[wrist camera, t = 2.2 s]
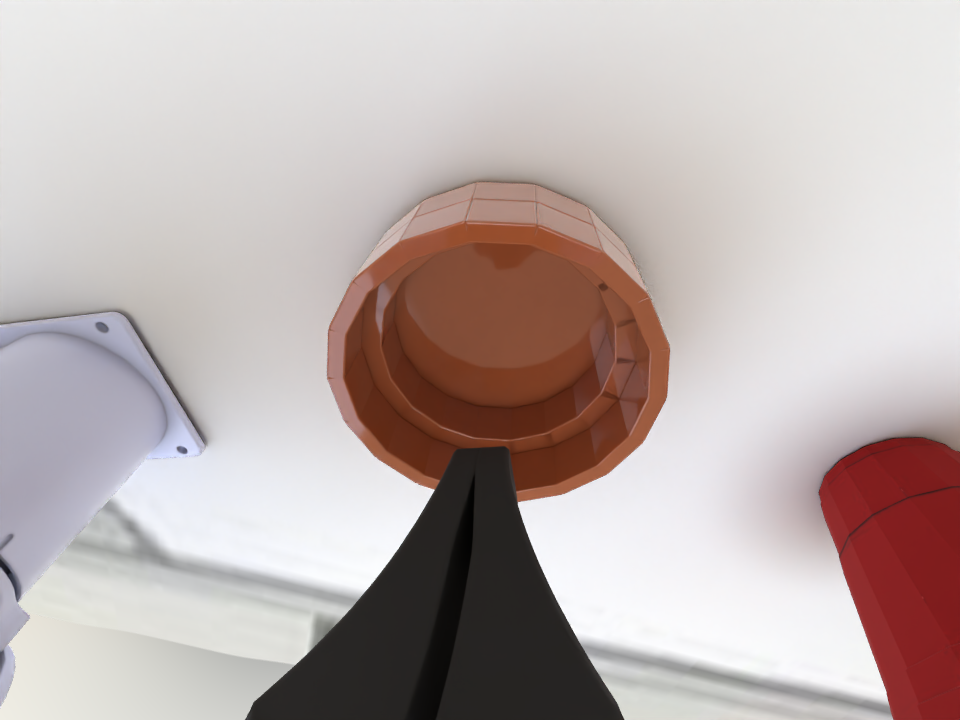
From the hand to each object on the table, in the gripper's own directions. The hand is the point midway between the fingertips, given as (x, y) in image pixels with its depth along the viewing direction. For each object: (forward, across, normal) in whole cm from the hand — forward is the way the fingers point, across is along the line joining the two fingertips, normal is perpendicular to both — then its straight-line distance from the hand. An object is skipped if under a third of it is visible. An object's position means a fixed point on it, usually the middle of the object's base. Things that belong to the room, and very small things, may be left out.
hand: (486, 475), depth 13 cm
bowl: (+8, 0, 0) cm, 8 cm away
